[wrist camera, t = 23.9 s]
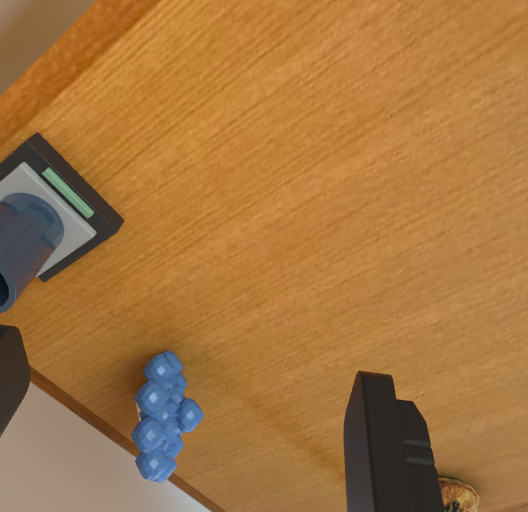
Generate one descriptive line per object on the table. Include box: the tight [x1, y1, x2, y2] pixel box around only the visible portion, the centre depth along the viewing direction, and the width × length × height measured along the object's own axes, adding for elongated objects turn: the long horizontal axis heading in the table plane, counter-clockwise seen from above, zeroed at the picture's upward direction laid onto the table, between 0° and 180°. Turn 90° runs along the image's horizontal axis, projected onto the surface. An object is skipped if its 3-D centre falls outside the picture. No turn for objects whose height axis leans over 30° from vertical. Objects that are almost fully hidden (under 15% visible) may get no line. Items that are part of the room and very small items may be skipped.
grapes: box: [131, 351, 204, 483], centre depth 50 cm, size 12×7×12 cm, turn 4°
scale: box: [0, 132, 124, 282], centre depth 43 cm, size 10×10×3 cm
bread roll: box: [438, 476, 480, 512], centre depth 63 cm, size 11×11×5 cm
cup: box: [0, 193, 64, 313], centre depth 39 cm, size 6×6×8 cm
